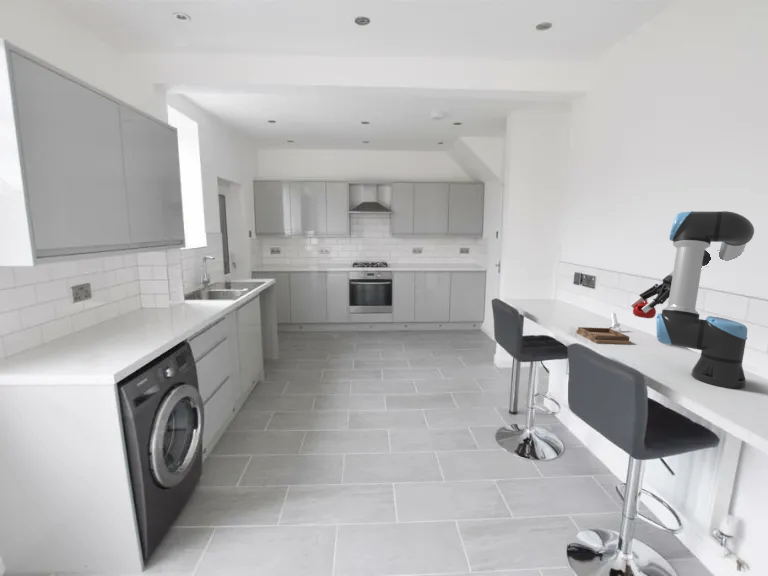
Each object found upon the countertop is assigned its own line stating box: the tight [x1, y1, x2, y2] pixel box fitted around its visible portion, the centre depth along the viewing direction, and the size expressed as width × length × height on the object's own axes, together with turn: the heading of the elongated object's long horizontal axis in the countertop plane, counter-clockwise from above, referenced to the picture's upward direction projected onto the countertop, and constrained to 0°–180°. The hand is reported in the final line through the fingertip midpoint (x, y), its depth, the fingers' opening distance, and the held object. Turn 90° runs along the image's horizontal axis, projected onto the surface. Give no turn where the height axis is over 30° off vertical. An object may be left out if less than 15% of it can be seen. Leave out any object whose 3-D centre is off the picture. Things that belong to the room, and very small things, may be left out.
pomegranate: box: [632, 299, 657, 319], centre depth 193 cm, size 10×10×9 cm
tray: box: [575, 326, 632, 345], centre depth 197 cm, size 20×17×4 cm
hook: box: [606, 312, 622, 333], centre depth 216 cm, size 8×12×7 cm
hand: (637, 309), depth 193 cm, fingers closed on pomegranate, 10 cm apart
